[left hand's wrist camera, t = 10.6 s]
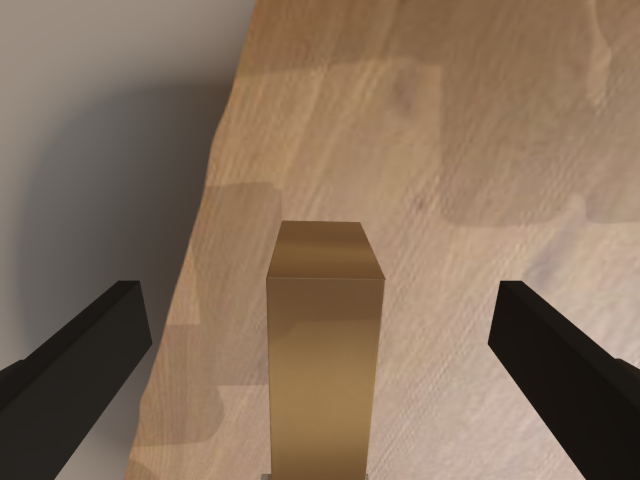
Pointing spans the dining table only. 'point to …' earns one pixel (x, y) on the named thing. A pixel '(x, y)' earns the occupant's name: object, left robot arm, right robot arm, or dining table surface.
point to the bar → (322, 349)
